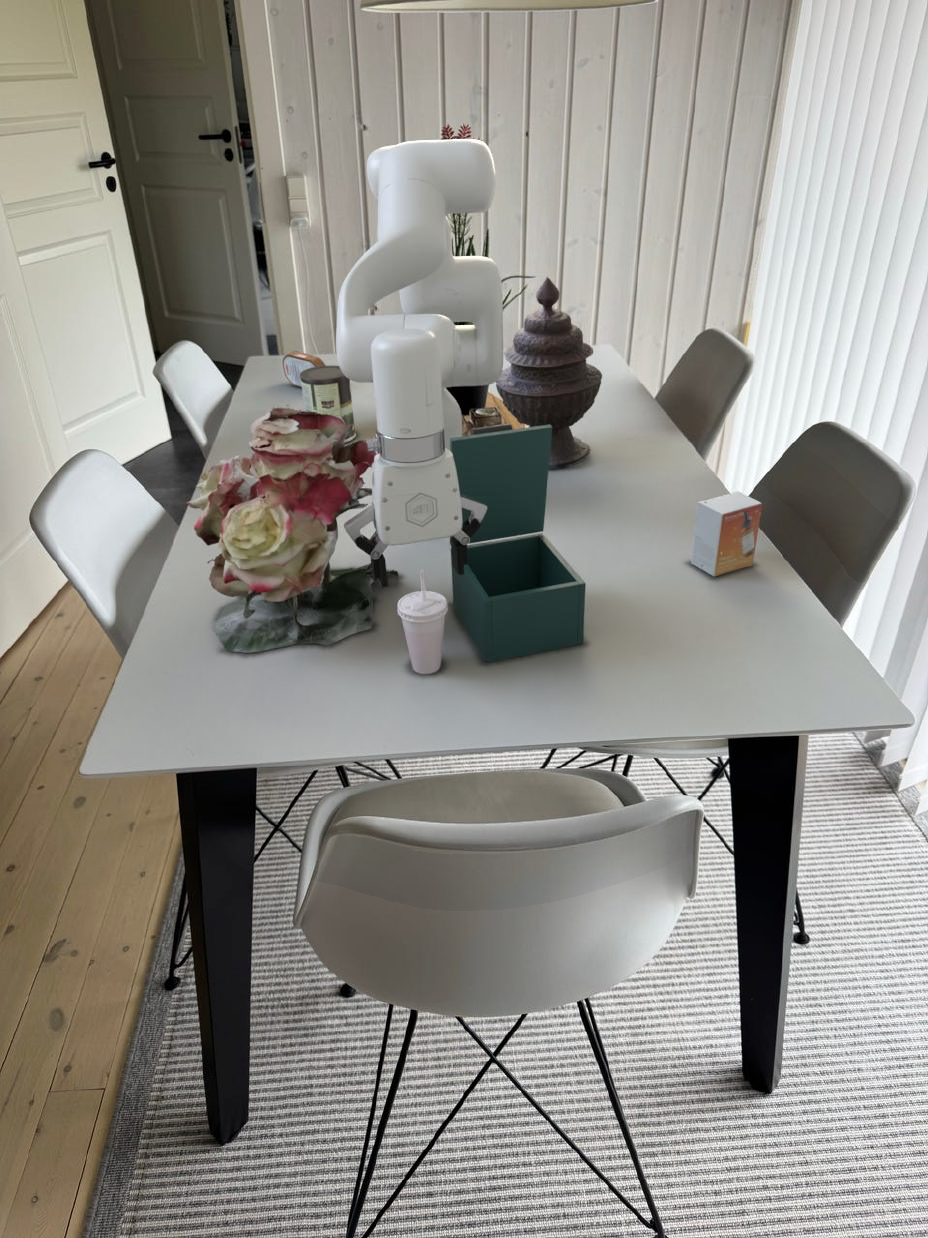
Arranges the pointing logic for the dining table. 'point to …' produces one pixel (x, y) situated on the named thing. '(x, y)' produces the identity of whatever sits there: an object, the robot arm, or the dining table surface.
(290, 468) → the rose bouquet
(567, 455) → the decorative urn
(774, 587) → the dining table surface
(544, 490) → the bin lid
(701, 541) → the small box
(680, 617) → the dining table surface
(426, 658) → the smoothie
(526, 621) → the bin
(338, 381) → the coffee can
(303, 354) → the tin
